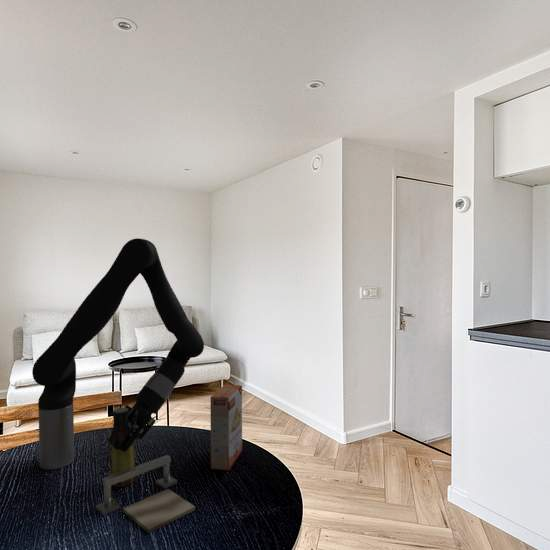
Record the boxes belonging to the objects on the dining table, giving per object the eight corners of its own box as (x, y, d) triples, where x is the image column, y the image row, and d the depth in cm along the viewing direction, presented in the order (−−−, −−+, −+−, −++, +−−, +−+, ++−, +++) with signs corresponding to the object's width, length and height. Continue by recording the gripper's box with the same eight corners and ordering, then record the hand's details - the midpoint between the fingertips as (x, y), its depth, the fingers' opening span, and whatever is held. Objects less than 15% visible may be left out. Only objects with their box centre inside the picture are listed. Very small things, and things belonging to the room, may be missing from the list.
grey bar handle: (95, 508, 100) (95, 478, 100) (169, 478, 114) (169, 451, 114) (102, 515, 97) (102, 484, 97) (177, 483, 111) (177, 456, 111)
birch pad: (123, 511, 98) (123, 508, 98) (168, 491, 107) (168, 488, 107) (148, 533, 90) (148, 529, 90) (195, 510, 99) (195, 506, 99)
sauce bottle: (115, 477, 115) (113, 405, 115) (138, 476, 115) (136, 404, 115) (106, 489, 109) (104, 413, 108) (130, 488, 109) (128, 412, 108)
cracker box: (230, 471, 117) (229, 397, 117) (209, 470, 119) (208, 396, 118) (243, 450, 131) (242, 384, 131) (225, 449, 132) (224, 383, 132)
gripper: (134, 380, 122) (94, 432, 114) (160, 390, 112) (118, 447, 104) (151, 394, 126) (113, 446, 117) (177, 405, 116) (138, 461, 107)
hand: (115, 446), depth 111 cm, fingers closed on sauce bottle, 6 cm apart
